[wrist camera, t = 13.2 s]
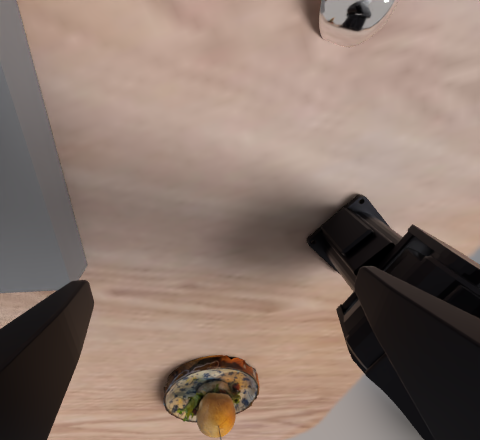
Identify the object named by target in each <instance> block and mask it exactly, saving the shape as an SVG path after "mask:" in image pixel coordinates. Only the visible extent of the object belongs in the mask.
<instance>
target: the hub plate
mask: <svg viewBox="0 0 480 440" xmlns="http://www.w3.org/2000/svg"><path fill="white" fill-rule="evenodd" d="M86 267H87V261H86V258H85V254H84V250H83V246H82V243H81V239H80V235H79V232H78V228H77V224H76V220H75V217H74V213H73V209H72V206H71V202H70V198H69V194H68V191H67V187H66V183H65V179H64V176H63V172H62V168H61V165H60V161H59V157H58V153H57V150H56V146H55V142H54V138H53V135H52V131H51V127H50V124H49V120H48V116H47V112H46V109H45V105H44V101H43V97H42V94H41V90H40V86H39V83H38V79H37V75H36V71H35V68H34V64H33V60H32V56H31V53H30V49H29V45H28V42H27V38H26V34H25V30H24V27H23V23H22V19H21V15H20V12H19V8H18V4H17V1H16V0H0V293H13V292H32V291H51V290H59V289H60V288H62V287H63V286H65V285H66V284H68V283H69V282H71V281H75V280H79V278H80V277H81V275H82V273H83V272H84V270H85V268H86Z"/></svg>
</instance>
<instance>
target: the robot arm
mask: <svg viewBox="0 0 480 440" xmlns="http://www.w3.org/2000/svg"><path fill="white" fill-rule="evenodd" d="M361 199H362V201H361V202H359V201H360V200H361ZM312 240H314V241H313V242H311V241H312ZM307 243H308V245H309V246H310V247H311V248H312V249H313V250H314V251H315V252H316V253H318V254H319V255H320V256H321V257H322V258H323V259H324V260H325V261H326V262H327V263H328V264H329V265H331V266H332V267H333V268H334V269H335V270H336V271H337V272H338V273H339V274H340V275H341V276H342V277H343V278H344V280H345V281H346V282H347V284H348V285H349V286H350V288H351V289H352V290H353V293H352V294H351V295H350V297H349V298H348V299H347V300H346V301H345V302H344V303H343V304H342V305H340V306H339V307H338V308H337V309H336V310H337V314H338V317H339V320H340V324H341V327H342V331H343V334H344V337H345V341H346V344H347V347H348V350H349V353H350V354H351V357H352V359H353V361H354V362H355V363H356V364H357V365H358V366H359V368H360V369H361V370H362V371H363V372H364V373H365V375H366V376H367V377H368V378H369V379H370V380H371V381H373V382H374V383H375V384H376V385H377V386H378V387H380V388H381V389H382V390H383V391H384V392H385V393H386V394H387V395H388V397H390V399H391V400H392V401H393V402H394V403H395V404H396V405H397V406H398V408H399V409H400V410H401V411H402V412H403V414H404V415H405V416H406V417H407V419H408V420H409V421H410V423H411V424H412V425H413V426H414V428H415V429H416V430H417V431H418V433H419V434H420V435H421V437H422V438H423V439H424V440H480V265H479V264H478V263H476V262H475V261H473V260H472V259H470V258H468V257H467V256H465V255H464V254H462V253H460V252H459V251H457V250H456V249H454V248H452V247H451V246H449V245H447V244H446V243H444V242H442V241H441V240H439V239H437V238H435V237H434V236H432V235H430V234H428V233H427V232H425V231H423V230H422V229H420V228H418V227H416V226H415V225H413V224H412V225H411V227H410V228H409V229H408V232H407V233H406V234H405V236H404V237H402V236H400V235H399V234H398V233H396V232H395V231H394V230H392V229H391V228H390V227H389V225H388V224H387V223H386V222H385V220H384V219H383V218H382V217H381V215H380V214H379V213H378V212H377V210H376V209H375V208H374V206H373V205H372V204H371V203H370V201H369V200H368V199H367V198H366V197H365V196H363V195H358V196H356V197H355V198H354V199H353V200H351V201H350V202H349V203H348V204H347V205H346V206H344V207H343V208H342V209H341V210H340V211H339V212H337V213H336V214H335V215H334V216H333V217H332V218H330V219H329V220H328V221H327V222H326V223H325V224H323V225H322V226H321V227H320V228H319V229H318V230H316V231H315V232H314V233H313V234H312V235H310V236H309V237H308V238H307ZM93 307H94V299H93V296H92V292H91V288H90V285H89V282H88V281H86V280H75V281H71V282H69V283H68V284H66V285H65V286H63V287H62V288H60V289H59V290H57V291H56V292H54V293H53V294H51V295H50V296H49V297H47V298H46V299H44V300H43V301H41V302H40V303H38V304H37V305H35V306H34V307H32V308H31V309H29V310H28V311H26V312H25V313H23V314H22V315H20V316H19V317H17V318H16V319H14V320H13V321H12V322H10V323H9V324H7V325H6V326H4V327H3V328H1V329H0V440H47V438H48V436H49V433H50V431H51V428H52V426H53V423H54V421H55V418H56V416H57V413H58V411H59V408H60V406H61V403H62V401H63V398H64V396H65V393H66V391H67V388H68V386H69V383H70V381H71V378H72V375H73V373H74V370H75V368H76V365H77V363H78V360H79V357H80V354H81V351H82V347H83V344H84V340H85V337H86V333H87V329H88V326H89V322H90V318H91V315H92V311H93Z"/></svg>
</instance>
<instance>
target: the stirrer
mask: <svg viewBox="0 0 480 440" xmlns="http://www.w3.org/2000/svg"><path fill="white" fill-rule="evenodd" d="M398 2H399V0H322V1H321V6H320V14H319V28H320V33H321V36H322V38H323V39H324V40H326V41H328V42H331V43H333V44H336V45H339V46H343V47H348V48H350V47H353V46H356V45H359V44H361V43H363V42H365V41H366V40H368V39H369V38H371V37H372V36H373V35H375V34H376V33H377V32H378V31H379V30H380V29H381V28H382V27H383V26H384V24H385V23H386V22H387V21H388V19H389V18H390V16H391V15H392V13H393V12H394V10H395V8H396V6H397V4H398Z"/></svg>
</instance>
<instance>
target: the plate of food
mask: <svg viewBox="0 0 480 440" xmlns="http://www.w3.org/2000/svg"><path fill="white" fill-rule="evenodd" d="M219 356H220V357H219ZM167 381H168V384H167V387H164V393H165V396H164V406H165V408H166V410H167V411H168V412H169V413H170V414H171V415H173V416H175V417H176V418H179V419H182V420H183V421H187V422H188V421H189V422H197V424H198V427H199V429H200V431H201V432H202V433H203V434H205V435H206V436H209V437H214V438H215V437H217V438H218V437H220V439H221V437H222V436H224V435H226V434H227V433H228V432H229V431H230V430H231V429H232V427H233V425H234V422H235V415H236V414H238V413H240V412H242V411H244V410H246V409H247V408H249V407H250V406H252V403H253V401H254V400H255V399H256V398H257V395H258V394H259V381H258V375H257V373H256V370H255V369H253V368H252V367H251V368H250V367H249V366H248V365H247V364H246V362H245V361H244V360H242V359H239V358H233V359H232V360H231V359H230V358H228V356H224V355H215V356H207V357H202V358H198V359H195V360H192V361H189V362H187V363H185V364H183V365H181V366H180V367H178V368H177V369H175V370H174V371H173V372H172V373H171V374H170V375H169V377H168V380H167Z"/></svg>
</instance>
